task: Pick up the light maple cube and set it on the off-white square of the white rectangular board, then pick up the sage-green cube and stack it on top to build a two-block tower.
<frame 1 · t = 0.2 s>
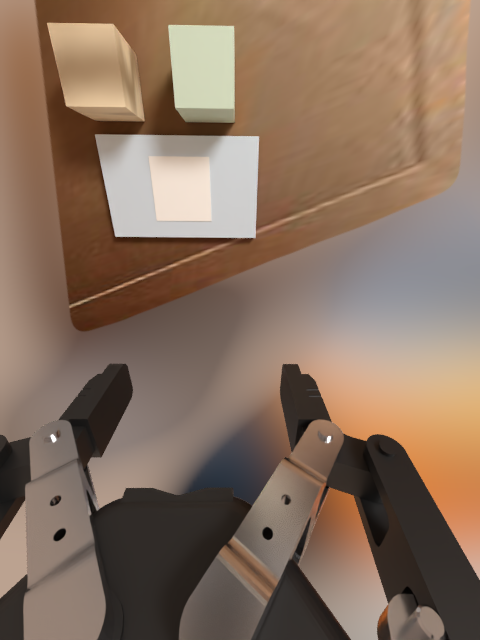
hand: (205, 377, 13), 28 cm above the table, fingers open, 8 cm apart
sage block: (209, 90, 30), on the table
maple block: (115, 89, 30), on the table
white rectangular board: (182, 190, 35), on the table
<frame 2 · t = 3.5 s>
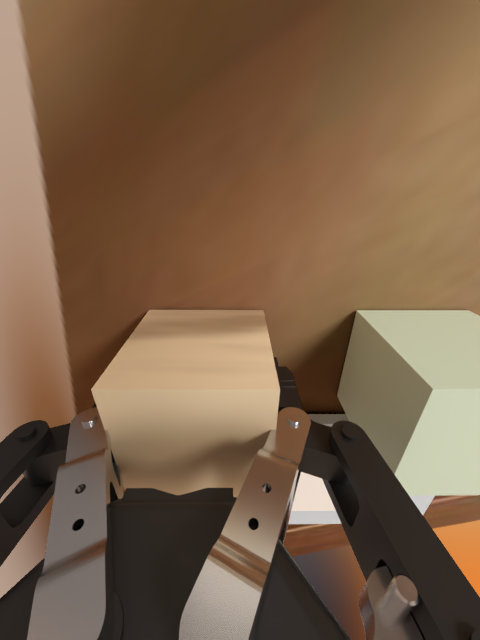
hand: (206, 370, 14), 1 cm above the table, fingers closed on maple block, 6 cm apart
sage block: (396, 356, 15), on the table
maple block: (209, 356, 15), on the table, touching gripper
white rectangular board: (307, 470, 20), on the table
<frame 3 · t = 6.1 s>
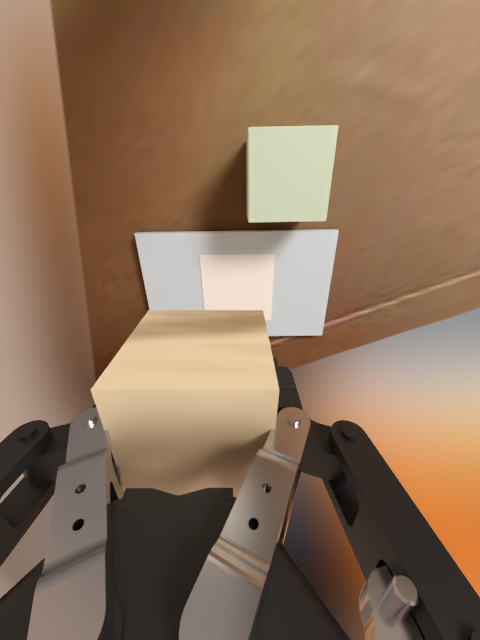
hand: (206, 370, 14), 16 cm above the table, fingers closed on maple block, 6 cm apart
sage block: (278, 179, 24), on the table
maple block: (208, 357, 15), point 15 cm above the table, touching gripper
white rectangular board: (237, 286, 29), on the table
when the fingers open (4 cm above the table, at t = 9.1 s): maple block drops 1 cm, resting on white rectangular board.
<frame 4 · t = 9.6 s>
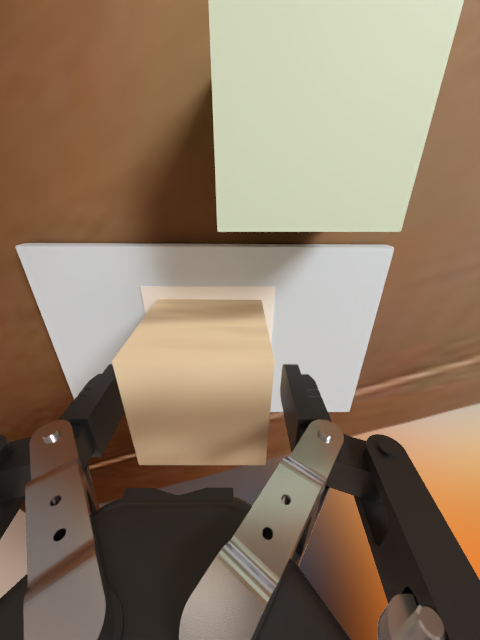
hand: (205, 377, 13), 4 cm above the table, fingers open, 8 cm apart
sage block: (286, 147, 12), on the table
maple block: (211, 343, 16), point 1 cm above the table, touching white rectangular board
white rectangular board: (212, 336, 17), on the table
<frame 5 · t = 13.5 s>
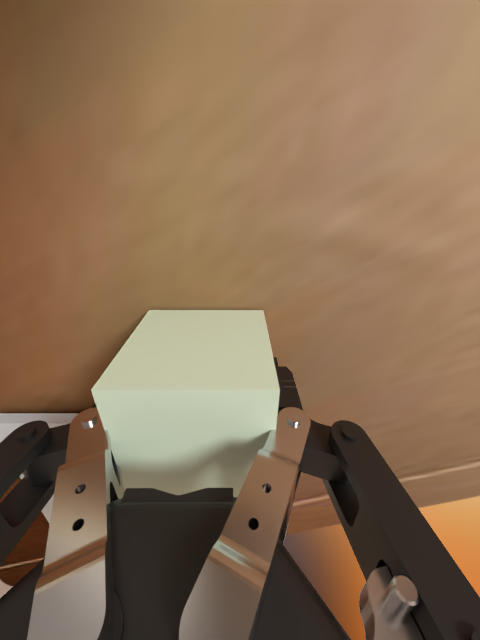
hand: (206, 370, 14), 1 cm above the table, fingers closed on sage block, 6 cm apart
sage block: (209, 357, 15), on the table, touching gripper
white rectangular board: (162, 470, 20), on the table
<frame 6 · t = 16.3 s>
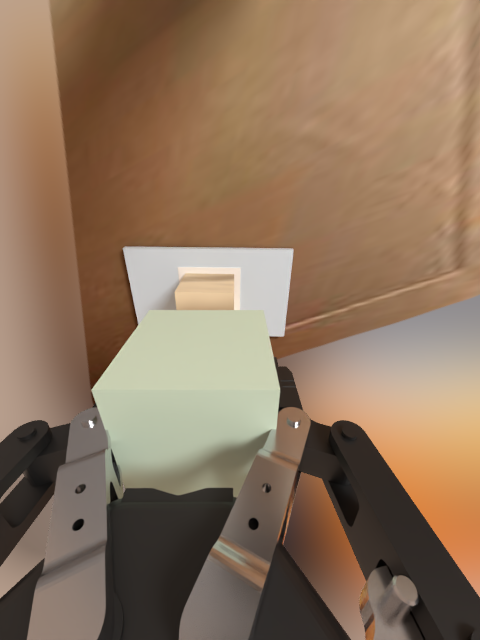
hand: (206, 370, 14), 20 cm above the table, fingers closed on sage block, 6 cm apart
sage block: (209, 357, 15), point 19 cm above the table, touching gripper
maple block: (210, 296, 33), point 1 cm above the table, touching white rectangular board
white rectangular board: (211, 293, 34), on the table
when the fingers open (10 cm above the table, at t = 19.1 s): sage block drops 1 cm, resting on maple block.
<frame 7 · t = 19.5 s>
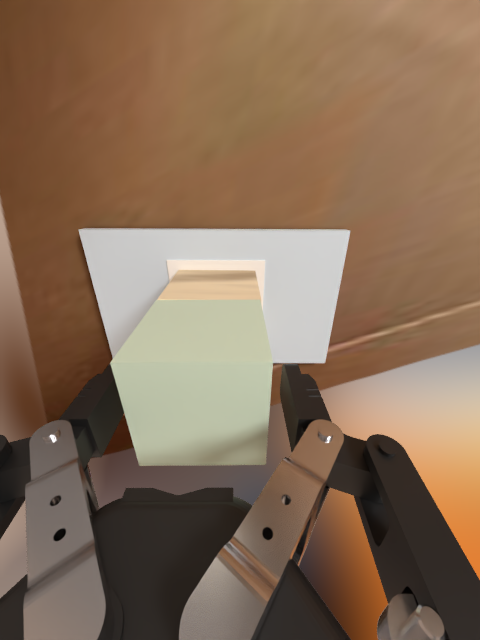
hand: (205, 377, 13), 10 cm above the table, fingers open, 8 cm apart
sage block: (211, 343, 16), point 7 cm above the table, touching maple block
maple block: (218, 305, 22), point 1 cm above the table, touching white rectangular board, sage block
white rectangular board: (218, 301, 22), on the table
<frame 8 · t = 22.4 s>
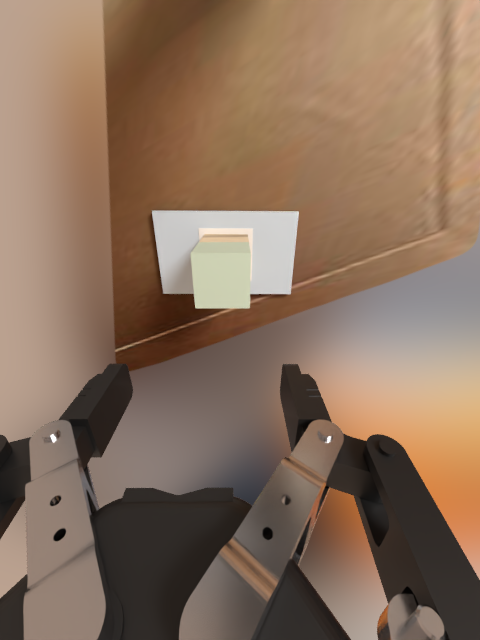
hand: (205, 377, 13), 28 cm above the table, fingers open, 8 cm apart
sage block: (224, 266, 32), point 7 cm above the table, touching maple block
maple block: (226, 255, 38), point 1 cm above the table, touching white rectangular board, sage block
white rectangular board: (226, 254, 38), on the table
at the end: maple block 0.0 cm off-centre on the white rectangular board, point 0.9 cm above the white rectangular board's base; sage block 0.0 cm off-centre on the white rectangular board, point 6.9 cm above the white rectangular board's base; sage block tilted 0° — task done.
